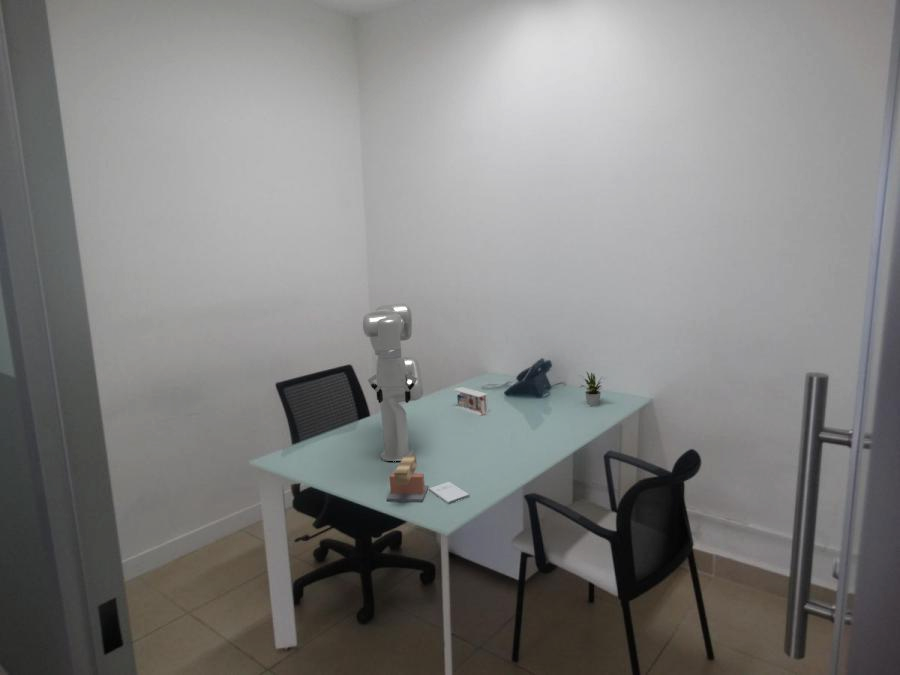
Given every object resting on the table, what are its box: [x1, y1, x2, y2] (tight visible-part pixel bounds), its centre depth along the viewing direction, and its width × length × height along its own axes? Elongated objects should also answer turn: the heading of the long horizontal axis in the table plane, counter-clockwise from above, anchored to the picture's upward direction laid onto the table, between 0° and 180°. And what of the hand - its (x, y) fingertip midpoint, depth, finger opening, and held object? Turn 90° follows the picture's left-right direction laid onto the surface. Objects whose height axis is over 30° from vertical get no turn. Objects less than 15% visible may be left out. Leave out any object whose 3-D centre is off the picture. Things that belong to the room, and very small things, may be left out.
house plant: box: [579, 371, 607, 407], centre depth 270 cm, size 14×14×16 cm
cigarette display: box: [452, 386, 489, 416], centre depth 272 cm, size 20×6×9 cm, turn 40°
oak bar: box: [393, 454, 418, 485], centre depth 188 cm, size 14×4×4 cm, turn 171°
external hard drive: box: [428, 481, 471, 505], centre depth 188 cm, size 2×8×12 cm
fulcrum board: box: [386, 472, 430, 503], centre depth 189 cm, size 10×12×7 cm
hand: (394, 401), depth 198 cm, fingers open, 9 cm apart
